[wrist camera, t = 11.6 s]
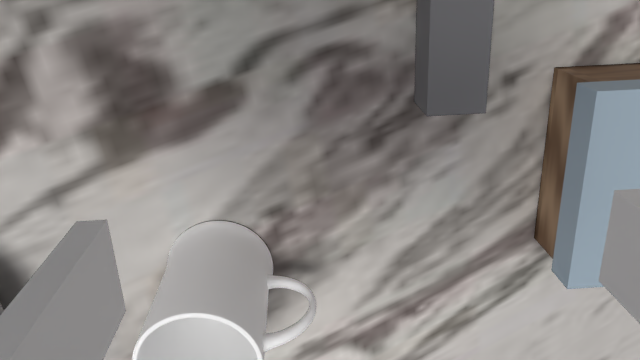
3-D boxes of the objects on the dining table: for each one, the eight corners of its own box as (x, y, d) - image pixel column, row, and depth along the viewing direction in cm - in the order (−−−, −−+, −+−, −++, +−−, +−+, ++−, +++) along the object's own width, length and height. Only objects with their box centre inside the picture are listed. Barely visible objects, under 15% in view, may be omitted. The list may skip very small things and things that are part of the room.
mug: (311, 216, 44) (318, 304, 32) (313, 306, 47) (320, 415, 36) (161, 221, 43) (116, 313, 32) (174, 312, 46) (137, 424, 35)
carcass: (554, 67, 40) (623, 96, 32) (659, 62, 40) (755, 89, 32) (534, 237, 45) (589, 300, 37) (626, 231, 46) (702, 293, 37)
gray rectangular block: (418, -78, 36) (433, -82, 32) (479, -81, 36) (500, -85, 32) (414, 101, 40) (426, 116, 37) (468, 99, 41) (485, 113, 37)
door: (576, 82, 35) (597, 91, 33) (713, 75, 36) (742, 83, 33) (551, 270, 41) (567, 288, 38) (670, 262, 41) (693, 281, 39)
